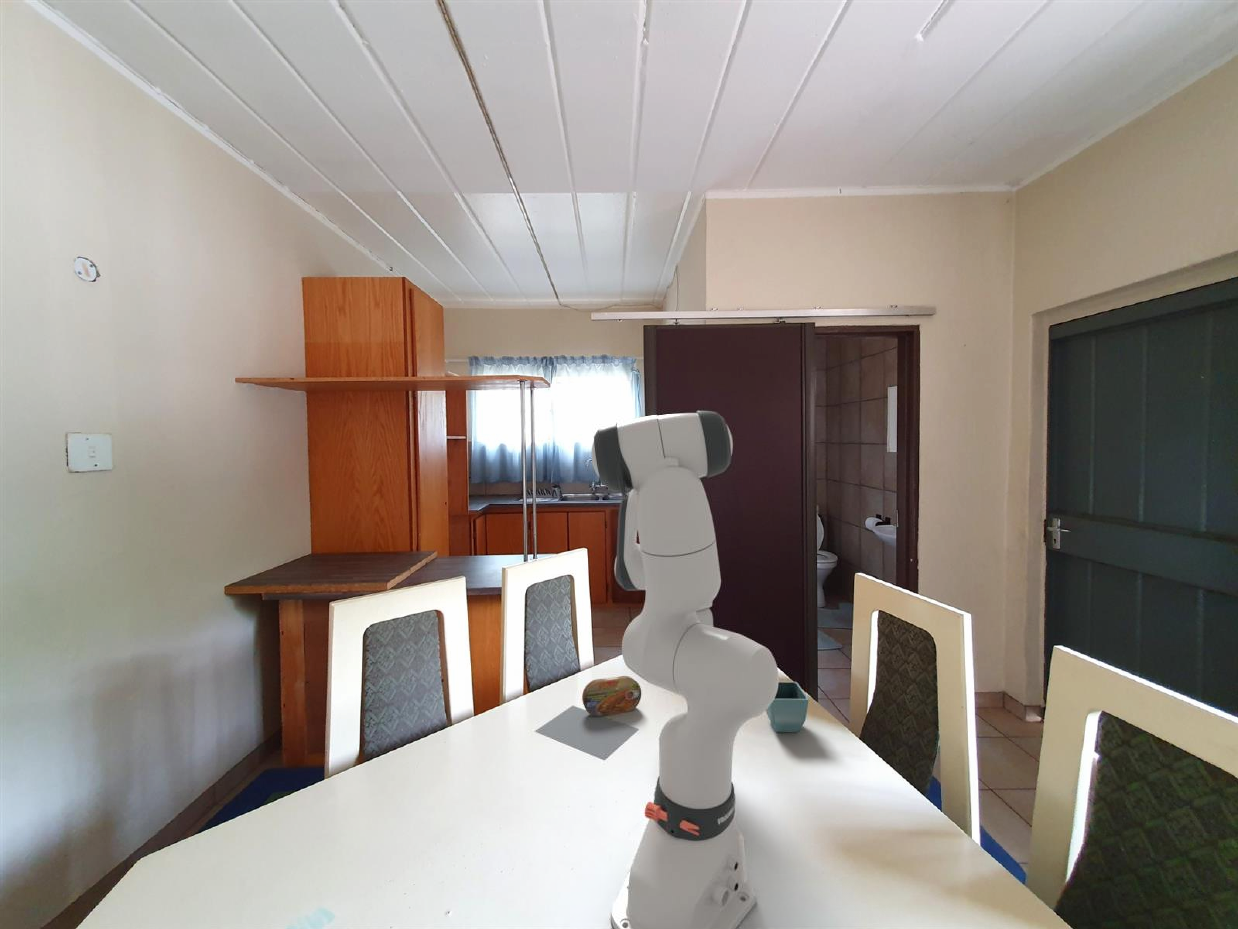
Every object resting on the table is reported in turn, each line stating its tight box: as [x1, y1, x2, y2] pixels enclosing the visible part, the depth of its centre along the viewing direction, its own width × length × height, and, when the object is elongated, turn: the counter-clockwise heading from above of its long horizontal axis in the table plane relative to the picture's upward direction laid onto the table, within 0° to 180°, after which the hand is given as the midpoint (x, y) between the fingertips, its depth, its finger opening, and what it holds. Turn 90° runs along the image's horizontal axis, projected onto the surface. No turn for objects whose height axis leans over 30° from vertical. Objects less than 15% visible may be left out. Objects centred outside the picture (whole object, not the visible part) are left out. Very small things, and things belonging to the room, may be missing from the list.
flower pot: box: [765, 681, 810, 733], centre depth 118 cm, size 9×9×9 cm
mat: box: [534, 705, 640, 761], centre depth 117 cm, size 14×20×1 cm
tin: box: [581, 675, 642, 717], centre depth 125 cm, size 15×3×8 cm, turn 108°
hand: (678, 650), depth 118 cm, fingers closed
